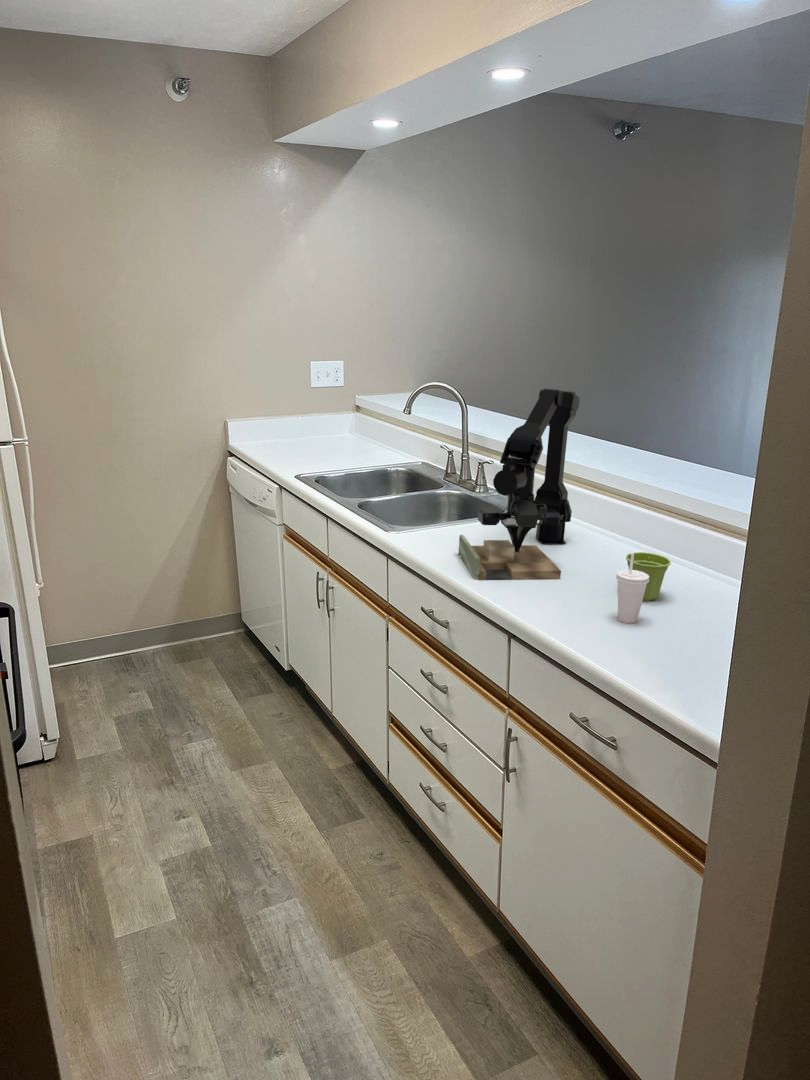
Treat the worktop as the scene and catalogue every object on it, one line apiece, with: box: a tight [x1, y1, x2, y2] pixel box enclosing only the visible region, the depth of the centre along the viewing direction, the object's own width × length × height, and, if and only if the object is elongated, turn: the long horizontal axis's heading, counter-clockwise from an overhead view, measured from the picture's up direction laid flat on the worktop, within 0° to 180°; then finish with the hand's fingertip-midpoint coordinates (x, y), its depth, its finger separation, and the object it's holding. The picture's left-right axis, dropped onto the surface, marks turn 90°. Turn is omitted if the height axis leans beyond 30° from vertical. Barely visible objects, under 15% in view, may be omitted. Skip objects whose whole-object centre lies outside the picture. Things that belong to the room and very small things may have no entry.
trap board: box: [458, 534, 562, 581], centre depth 193 cm, size 20×20×5 cm
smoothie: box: [615, 552, 649, 624], centre depth 161 cm, size 6×6×14 cm
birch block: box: [483, 539, 515, 562], centre depth 193 cm, size 6×6×4 cm
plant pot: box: [625, 551, 672, 602], centre depth 175 cm, size 9×9×9 cm
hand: (516, 551), depth 193 cm, fingers closed
